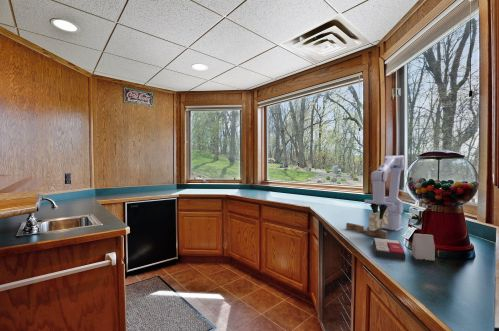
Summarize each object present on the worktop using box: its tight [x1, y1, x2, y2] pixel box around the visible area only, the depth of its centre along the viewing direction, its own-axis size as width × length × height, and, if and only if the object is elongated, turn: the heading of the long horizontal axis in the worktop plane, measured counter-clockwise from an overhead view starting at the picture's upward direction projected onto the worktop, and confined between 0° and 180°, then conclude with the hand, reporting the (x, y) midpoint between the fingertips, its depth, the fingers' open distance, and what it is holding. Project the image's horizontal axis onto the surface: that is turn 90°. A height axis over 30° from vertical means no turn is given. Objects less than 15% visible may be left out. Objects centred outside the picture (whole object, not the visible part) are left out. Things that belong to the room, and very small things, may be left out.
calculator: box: [372, 237, 407, 261], centre depth 104 cm, size 11×4×15 cm
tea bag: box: [411, 233, 436, 262], centre depth 98 cm, size 4×7×10 cm, turn 72°
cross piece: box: [368, 210, 388, 231], centre depth 125 cm, size 18×2×8 cm, turn 128°
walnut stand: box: [345, 222, 388, 239], centre depth 131 cm, size 22×2×4 cm, turn 38°
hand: (378, 218), depth 125 cm, fingers closed on cross piece, 2 cm apart
